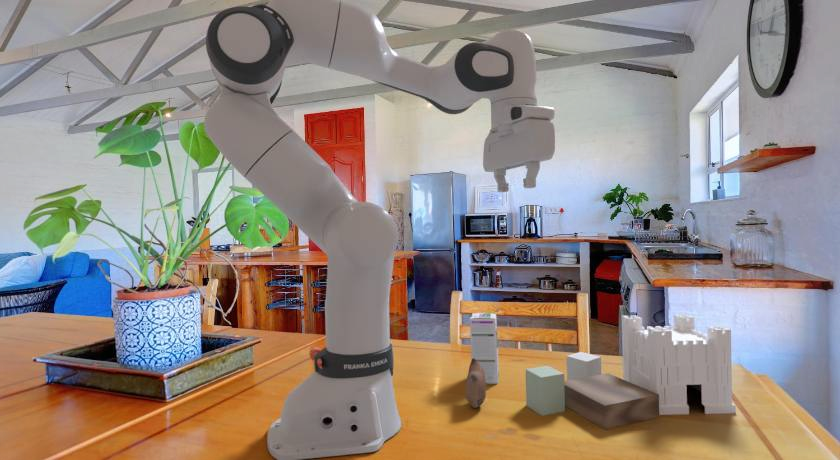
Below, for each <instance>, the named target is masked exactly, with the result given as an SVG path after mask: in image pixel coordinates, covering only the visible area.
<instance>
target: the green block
mask: <svg viewBox="0 0 840 460" xmlns="http://www.w3.org/2000/svg"><path fill="white" fill-rule="evenodd" d="M564 381H565V373H564V372H562V371H559V370H557V369H556V368H553V367H552V366H549V365H544V366H538V367H530V368H525V396H526V397H525V398H526V399H525V401H526V402H525V403H526V404H525V405H526V406H527V407H528V408H530V409H531V410H532V411H534V412H535V413H537V414H538V415H540V416H542V417H544V416H548V415H553V414H559V413H562V412H563V413H564V412H566V406H565V391H564Z"/></svg>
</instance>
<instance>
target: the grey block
mask: <svg viewBox="0 0 840 460" xmlns="http://www.w3.org/2000/svg"><path fill="white" fill-rule="evenodd" d="M596 375H602V356H599V355H595V354H591V353H588V352H587V353H586V352H583V351H578V352H576V353H571V354H569V355H566V381H568V380H573V379H579V378H585V377H590V376H596Z"/></svg>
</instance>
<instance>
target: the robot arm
mask: <svg viewBox="0 0 840 460" xmlns="http://www.w3.org/2000/svg"><path fill="white" fill-rule="evenodd" d="M205 48H206V52H207V57H208V58H209V63H210V68H211V70H212V73H213V75H214V77H215V80H216V82H217V84H218V87H219V89H220V94H219V96H218V98H217V99H216V100H214V101H213V102H212V104H211V105H210V106H209V107H208V109H207V110H206V112H205V115H204V118H203V128H204V131H205V134H206V136H207V137H208V138H209V139H210V140H211V142H212V144H213V145H214V146H215V148H216V149H217V150H218V151H219V152H220V153H221V155H222V156H223V157H224V158H225V160H227V162H228V163H229V164H230V165H231V166H232V167H233V169H235V170H236V171H237V172H238V173H239V174H240V175H241V176H242V177H243V178H245V180H247V181H248V182H249V183H250V184H251V185H252V186H253V187H254V188H255V189H256V190H257V191H259V192H260V193H261V194H262V195H263V196H264V197H265V198H266V199H267V200H268V201H270V202H271V203H272V204H273V205H274V206H275V207H277V209H278V210H279V211H280V212H281V213H282V214H284V215H285V217H287V218H288V219H289V220H290V221H291V222H292V223H293V224H294V225H295V226H296V227H297V228H298V229H299V230H300V231H301V232H302V233H304V235H305V236H306V237H307V238H308V239H310V240H311V242H312V243H314V245H316V246H317V247H318V248H319V249H320V250H321V251H322V252H323V253H324V254H326V256H327V267H326V269H327V273H326V289H325V298H324V299H325V301H324V316H325V317H324V319H325V320H324V321H325V322H324V323H325V346H324V348H322V349H320V348H319V347H318V346H313V347H312V348H310V350H309V356H310V357H309V358H310V359H311V360H312V361H313V365H314V368H313V369H314V371H313V372H312V373H311V374H309V376H307V377H306V378H304V380H302V382H301V383H299V384H298V385H297V386H296V387H294V388H293V389H292V390H291V391H290V392H289V393H288V394H287V395H286V398H285V400H284V402H283V405H282V410H281V414H280V418H278V419H276V420H275V421H273V422H272V424H271V425H270V427H269V429H268V431H267V439H266V444H267V450H268V453H269V454H270V455H271V456H272V457H273V458H274V459H276V460H307V459H315V458H316V459H318V458H326V457H338V456H346V455H355V454H356V455H357V454H366V453H367V454H368V453H373V452H377V451H378V450H380V449H381V447H383V444H384V442H386V441H388V440H389V439H390V438H392V437H393V436H395V435H396V434H397V433H398V432H399V431H400V429H401V427H402V420H401V417H400V414H399V410H398V407H397V402H396V396H395V391H394V385H393V384H394V383H393V375H394V367H395V365H394V361H395V360H394V350H393V344H392V343H391V338H390V337H391V335H390V333H391V332H390V293H391V285H392V278H393V274H394V273H393V270H394V262H395V254H396V253H395V252H396V249H397V247H398V244H399V229H398V225H397V223H396V221H395V219H394V218H393V216H391V214H390V213H389V212H388V211H387V210H386V209H384V208H383V207H381V206H380V205H378V204H375V203H373V202H369V201H358V200H357V199H356V198H355V196H354V195H353V194H352V193H351V192H350V191H349V189H348V188H347V187H346V186H345V184H344V183H343V182H342V181H341V179H339V177H338V176H337V175H336V173H335V172H334V170H333V169H332V168H331V166H330V165H329V164H328V162H326V161H325V159H324V158H322V157H321V156H320V155H319V154H318V153H317V152H316V150H314V149H313V148H312V147H311V146H310V145H309V144H308V143H307V141H305V140H304V139H303V138H302V137H301V136H300V135H299V134H298V133H297V132H296V131H295V130H294V129H293V128H292V127H290V125H289V124H288V123H286V122H285V121H284V120H283V119H282V118H281V117H280V116H279V114H278V113H277V112H276V110H275V109H274V107H273V106H272V105H273V103H274V101H275V99H276V98H277V96H278V94H279V92H280V90H281V87H282V82H283V78H284V74H285V70H286V67H288V66H290V65H293V64H299V63H302V64H303V63H304V64H309V63H310V64H313V65H316V66H319V67H323V68H327V69H330V70H334V71H336V72H337V71H338V72H341V73H346V74H350V75H353V76H358V77H360V78H364V79H365V80H370V81H372V82H375V83H377V84H380V85H383V86H386V87H389V88H391V89H394V90H397V91H400V92H403V93H406V94H410V95H412V96H416V97H419V98H420V99H423V100H425V101H427V102H428V103H430V104H431V105H432V106H433V107H435V108H436V109H437V110H439V111H440V112H443V113H444V114H447V115H459V114H462V113H464V112H466V111H467V110H469V109H470V108H471V107H472V106H473V105H474V104H475V103H477V102H479V101H480V100H481V99H488V100H489V101H490V120H491V121H490V123H491V124H490V126H491V127H490V128H491V129H490V130H489V133H488V135H487V136H486V137H485V140H484V143H483V154H482V156H483V157H482V166H483V170H484V172H485V173H493V178H494V180H495V183H496V184H497V185H496V186H497V192H498V193H507V192H509V190H510V189H509V184H510V183H509V182H507V180H506V177H505V176H507V171H508V170H512V169H516V168H522V167H525V169H526V170H527V171H526V175H525V178H523V180H522V181H523V182H522V183H523V184H522V185H523V188H524V189H535V188H536V187H537V177H538V174H539V172H540V168H541V164H540V163H542V162H545V161H550V160H551V159H553V157H554V155H555V151H556V134H555V125H554V123H553V119H554V118H555V109H554V107H550V106H543V105H538V99H537V95H536V91H535V88H536V83H537V63H536V61H537V60H536V52H535V48H534V44H533V41H532V39H531V37H530V36H529V35H528V34H527V33H524V32H522V31H519V30H514V29H507V30H502V31H499V32H497V33H496V34H494V36H492V37H491V38H489V39H487V40H484V41H480V42H479V41H478V42H475V41H474V42H469V43H467V44H466V45H463V46H462V47H461V48H459V49H458V50H457V52H455V53H454V54H453V55H452V56H451V57H450V58H449V59H448V60H447V61H446V62H445V63H444V64H441V65H437V66H436V65H435V66H430V65H427V64H424V63H422V62H419V61H417V60H414V59H411V58H408V57H406V56H403V55H400V54H399V53H397V52H396V51H394V50H393V49H392V48H391V46H390V45H389V43H388V39H387V36H386V32H385V29H384V27H383V25H382V22H381V20H380V19H379V18H378V16H377V15H376V14H375V13H373V12H372V11H370V10H368V9H366V8H365V7H363V6H360V5H358V4H355V3H354V2H353V3H352V2H349V1H348V0H347V1H346V0H269V1H268V2H267V5H266V4H257V5H252V6H247V5H246V6H243V5H242V6H235V7H234V6H233V7H229V8H226V9H224V10H221V11H220V12H218V13H217V14H216V15H215V16H214V18H212V20H211V21H210V23H209V25H208V28H207V30H206V35H205Z"/></svg>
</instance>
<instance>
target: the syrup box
mask: <svg viewBox="0 0 840 460" xmlns="http://www.w3.org/2000/svg"><path fill="white" fill-rule="evenodd" d="M497 319H498V318H497V313H494V312H476V313H475V312H474V313H473V312H472V314H471V316H470V317H469V336H470V337H469V338H470V340H469V341H470V362H471V361H472V359H473V358H474V359H476V360H477V361H478V362H479V363H480V365H481V366H482V367H483V370H484V374H485V380H486V385H488V384H489V385H490V384H491V385H498V383H499V375H500V372H499V371H500V370H499V346H498V327H497V326H498V324H497Z"/></svg>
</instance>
